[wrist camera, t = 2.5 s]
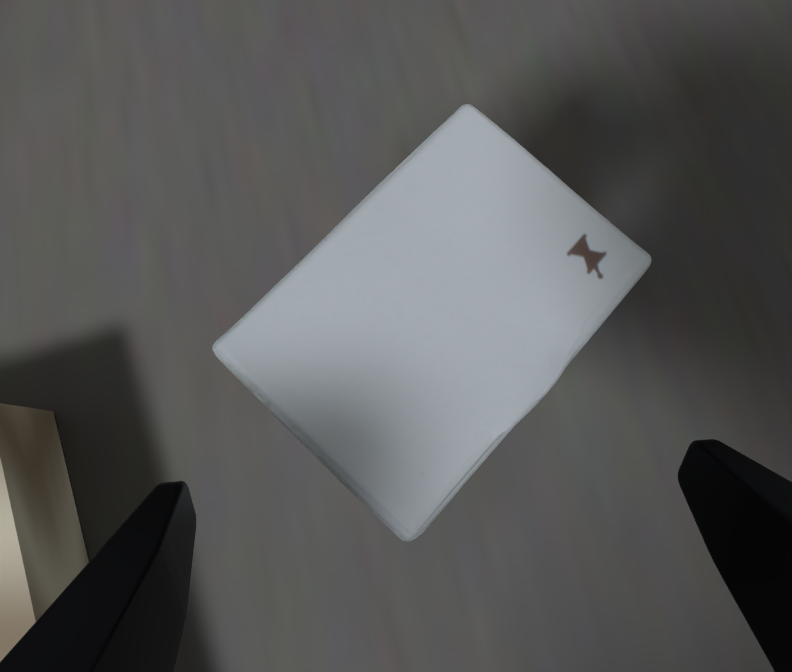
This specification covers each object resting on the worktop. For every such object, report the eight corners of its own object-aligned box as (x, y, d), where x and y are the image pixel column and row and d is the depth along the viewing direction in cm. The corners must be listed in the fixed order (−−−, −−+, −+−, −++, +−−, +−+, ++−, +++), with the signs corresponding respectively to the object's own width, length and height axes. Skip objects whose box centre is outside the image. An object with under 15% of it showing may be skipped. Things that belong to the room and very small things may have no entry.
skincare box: (398, 294, 21) (474, 86, 9) (480, 370, 20) (671, 257, 9) (283, 411, 19) (197, 344, 8) (370, 495, 19) (419, 558, 7)
